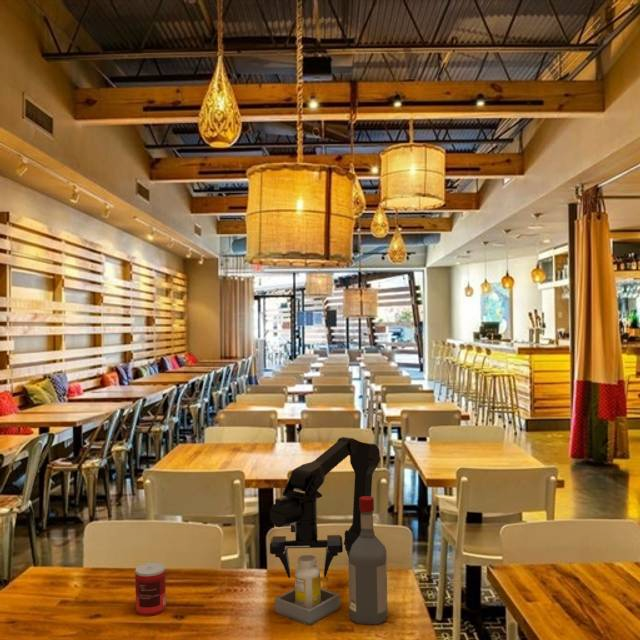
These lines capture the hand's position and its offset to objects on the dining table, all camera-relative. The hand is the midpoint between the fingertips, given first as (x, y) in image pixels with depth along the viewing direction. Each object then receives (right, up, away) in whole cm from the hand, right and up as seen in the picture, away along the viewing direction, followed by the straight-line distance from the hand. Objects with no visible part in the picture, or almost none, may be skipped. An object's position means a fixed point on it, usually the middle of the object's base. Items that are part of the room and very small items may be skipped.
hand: (307, 577), depth 164 cm
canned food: (-41, -10, +2) cm, 42 cm away
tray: (0, -9, 0) cm, 8 cm away
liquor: (+16, -8, -4) cm, 18 cm away
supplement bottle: (0, -8, 0) cm, 8 cm away
